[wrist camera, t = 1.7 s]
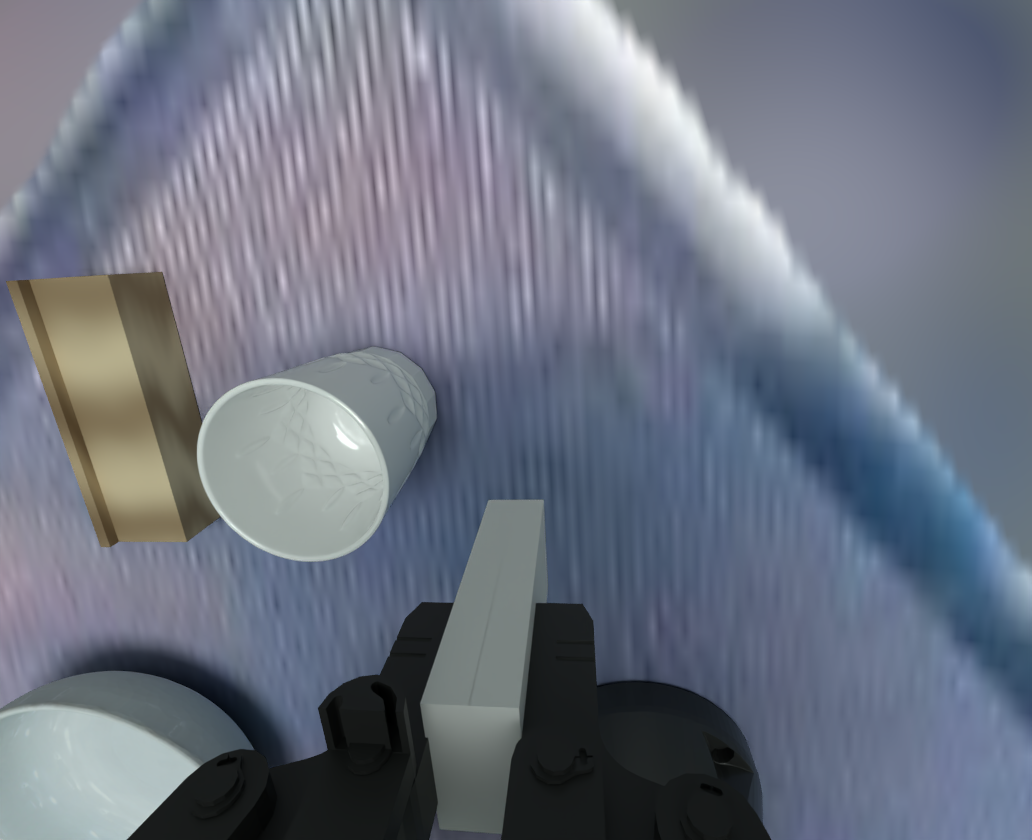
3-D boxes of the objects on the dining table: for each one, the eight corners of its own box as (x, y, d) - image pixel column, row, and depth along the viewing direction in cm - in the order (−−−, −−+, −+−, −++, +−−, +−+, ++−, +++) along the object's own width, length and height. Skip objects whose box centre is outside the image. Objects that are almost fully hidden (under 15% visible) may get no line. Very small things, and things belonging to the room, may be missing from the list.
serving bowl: (333, 828, 42) (289, 935, 35) (114, 830, 45) (37, 927, 39) (252, 620, 36) (181, 702, 29) (5, 638, 39) (-109, 716, 32)
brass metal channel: (225, 512, 33) (179, 547, 29) (155, 512, 34) (100, 547, 30) (161, 271, 28) (96, 275, 24) (81, 277, 29) (6, 281, 25)
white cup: (472, 435, 30) (424, 522, 20) (361, 485, 31) (269, 587, 22) (403, 311, 28) (316, 342, 18) (290, 372, 29) (156, 429, 20)
